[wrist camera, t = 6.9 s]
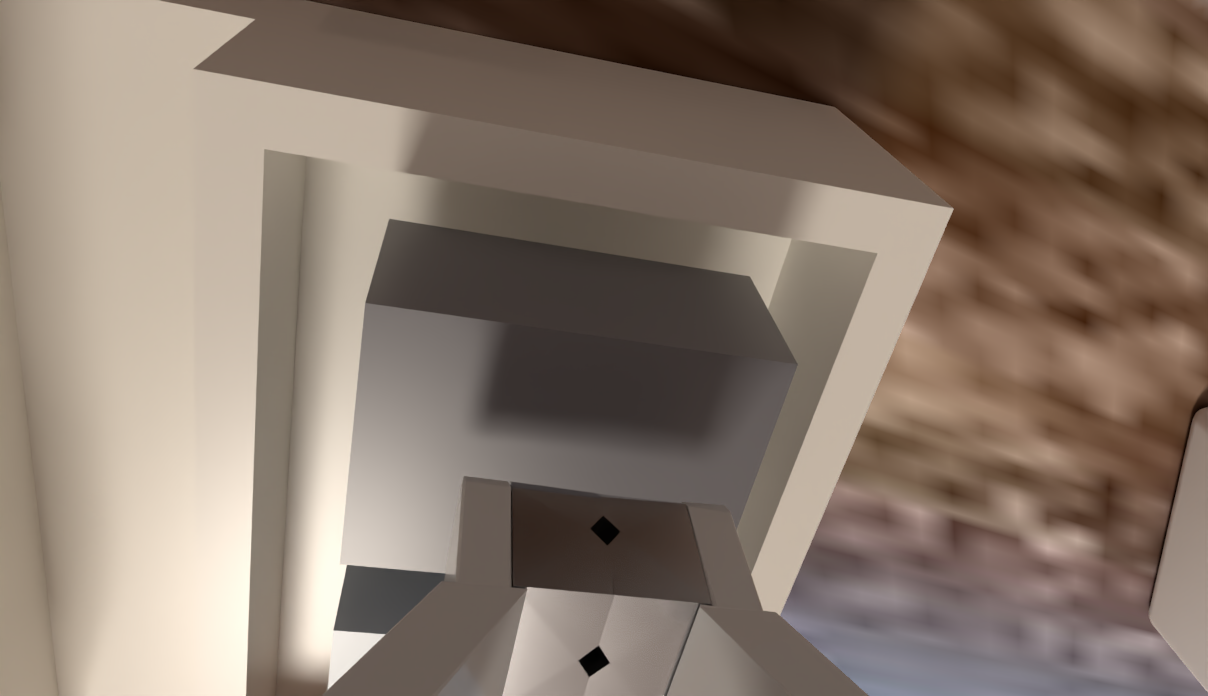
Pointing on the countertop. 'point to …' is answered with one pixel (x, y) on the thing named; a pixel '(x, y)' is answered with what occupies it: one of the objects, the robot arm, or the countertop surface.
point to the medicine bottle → (1187, 560)
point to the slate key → (373, 610)
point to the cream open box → (350, 298)
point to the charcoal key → (549, 383)
